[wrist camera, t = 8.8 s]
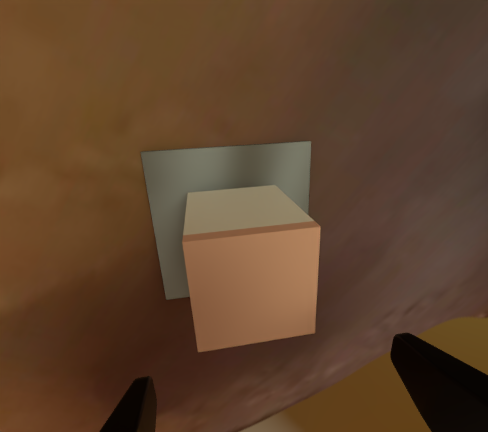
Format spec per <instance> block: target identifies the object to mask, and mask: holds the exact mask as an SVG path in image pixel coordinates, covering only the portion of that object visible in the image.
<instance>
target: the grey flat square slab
mask: <svg viewBox="0 0 488 432" xmlns="http://www.w3.org/2000/svg"><path fill="white" fill-rule="evenodd" d="M310 157H311V141H301V142H285V143H269V144H254V145H238V146H222V147H206V148H190V149H174V150H159V151H143V152H141V158H142V163H143V169H144V175H145V181H146V186H147V192H148V198H149V204H150V209H151V215H152V221H153V227H154V232H155V238H156V244H157V250H158V256H159V261H160V267H161V273H162V279H163V284H164V290H165V296H166V300H169V299H176V298H184V297H190V293H189V286H188V279H187V272H186V265H185V258H184V251H183V244H182V240H183V231H184V222H185V213H186V204H187V195H188V193H191V192H202V191H213V190H224V189H235V188H246V187H258V186H269V185H276V186H277V187H278V188H279V189H280V190H281V191H282V192H283V193H284V194H286V195H287V196H288V197H289V198H290V199H291V200H292V201H293V202H294V203H295V204H296V205H298V206H299V207H300V208H301V209H302V210H303V211H304V212H305V213H306V214H307V215H308V204H309V181H310Z"/></svg>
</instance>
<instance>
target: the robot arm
mask: <svg viewBox="0 0 488 432" xmlns="http://www.w3.org/2000/svg"><path fill="white" fill-rule="evenodd" d="M391 360H392V363H393V365H394V366H395V368H396V370H397V372H398V374H399V376H400V378H401V379H402V381H403V383H404V385H405V387H406V389H407V391H408V392H409V394H410V396H411V398H412V400H413V401H414V403H415V405H416V407H417V409H418V411H419V412H420V414H421V416H422V417H423V419H424V420H425V422H426V424H427V425H428V427H429V428H430V430H431V431H432V432H488V375H486V374H485V373H483V372H481V371H479V370H477V369H475V368H473V367H471V366H470V365H468V364H466V363H464V362H462V361H460V360H458V359H457V358H454V357H453V356H451V355H449V354H447V353H445V352H444V351H442V350H440V349H438V348H436V347H434V346H433V345H431V344H429V343H427V342H425V341H423V340H421V339H420V338H418V337H416V336H414V335H412V334H410V333H401V334H396V335H395V336H394V338H393V343H392V348H391ZM156 408H157V399H156V393H155V389H154V385H153V380H152V378H151V377H150V376H147V377H141V378H137V379H135V380H134V381H133V383H132V384H131V386H130V387H129V389H128V390H127V392H126V393H125V395H124V396H123V398H122V399H121V400H120V402H119V403H118V405H117V406H116V408H115V409H114V411H113V412H112V414H111V415H110V417H109V418H108V420H107V421H106V423H105V424H104V426H103V427H102V429H101V430H100V432H155V424H156Z"/></svg>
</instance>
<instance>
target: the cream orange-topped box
mask: <svg viewBox="0 0 488 432" xmlns="http://www.w3.org/2000/svg"><path fill="white" fill-rule="evenodd" d="M320 229H321V227H320V226H319V225H318V224H317V223H316V222H315V221H314V220H313V219H312V218H311V217H309V216H308V215H307V214H306V213H305V212H304V211H303V210H302V209H301V208H300V207H299V206H298V205H296V204H295V203H294V202H293V201H292V200H291V199H290V198H289V197H288V196H287V195H286V194H284V193H283V192H282V191H281V190H280V189H279V188H278V187H277V186H276V185H269V186H258V187H246V188H235V189H224V190H213V191H202V192H191V193H188V195H187V204H186V213H185V222H184V231H183V240H182V244H183V251H184V258H185V265H186V272H187V279H188V286H189V293H190V300H191V307H192V314H193V321H194V328H195V335H196V342H197V349H198V352H204V351H210V350H216V349H222V348H228V347H234V346H240V345H246V344H253V343H259V342H265V341H271V340H277V339H283V338H289V337H295V336H301V335H307V334H313V333H315V320H316V302H317V284H318V265H319V247H320Z"/></svg>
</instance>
